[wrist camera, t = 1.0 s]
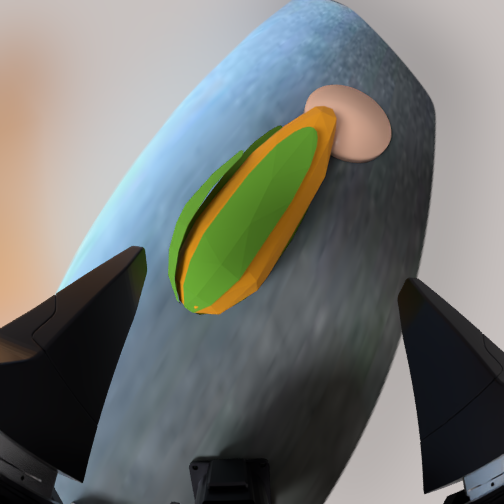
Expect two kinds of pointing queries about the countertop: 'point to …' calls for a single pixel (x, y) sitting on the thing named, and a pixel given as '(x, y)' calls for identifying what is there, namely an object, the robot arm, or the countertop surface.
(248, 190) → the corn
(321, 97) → the pink flat disc
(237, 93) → the countertop surface
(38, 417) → the robot arm
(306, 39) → the countertop surface
